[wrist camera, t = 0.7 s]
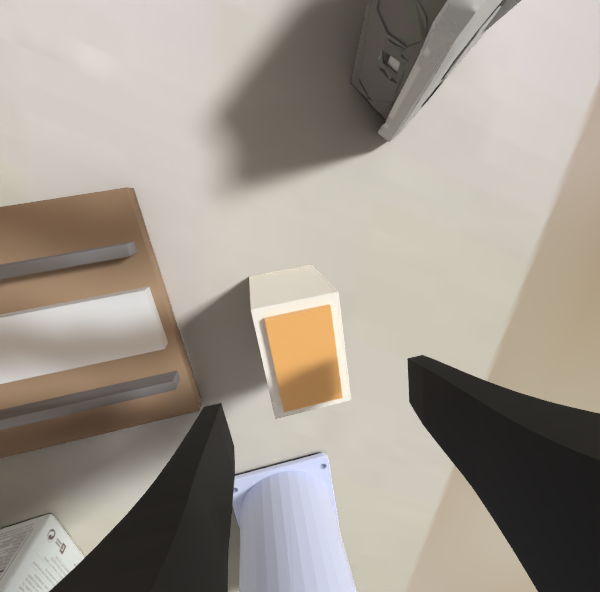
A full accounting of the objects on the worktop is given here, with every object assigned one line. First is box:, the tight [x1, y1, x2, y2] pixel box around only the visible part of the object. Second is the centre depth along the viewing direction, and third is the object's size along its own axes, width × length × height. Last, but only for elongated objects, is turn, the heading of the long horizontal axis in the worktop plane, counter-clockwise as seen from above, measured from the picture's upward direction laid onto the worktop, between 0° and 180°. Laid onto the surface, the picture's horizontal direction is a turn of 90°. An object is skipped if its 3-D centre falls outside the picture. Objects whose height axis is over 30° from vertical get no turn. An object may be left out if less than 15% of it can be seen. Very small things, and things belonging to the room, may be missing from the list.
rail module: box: [249, 265, 351, 419], centre depth 17 cm, size 6×4×6 cm, turn 9°
